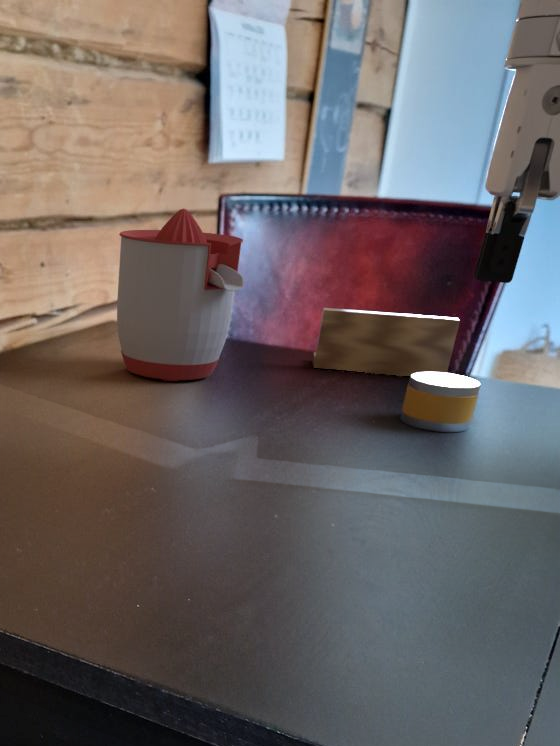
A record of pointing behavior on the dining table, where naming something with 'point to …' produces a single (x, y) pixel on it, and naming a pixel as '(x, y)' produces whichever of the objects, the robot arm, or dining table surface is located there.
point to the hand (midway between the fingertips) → (491, 280)
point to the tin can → (440, 401)
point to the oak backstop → (384, 342)
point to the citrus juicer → (176, 298)
